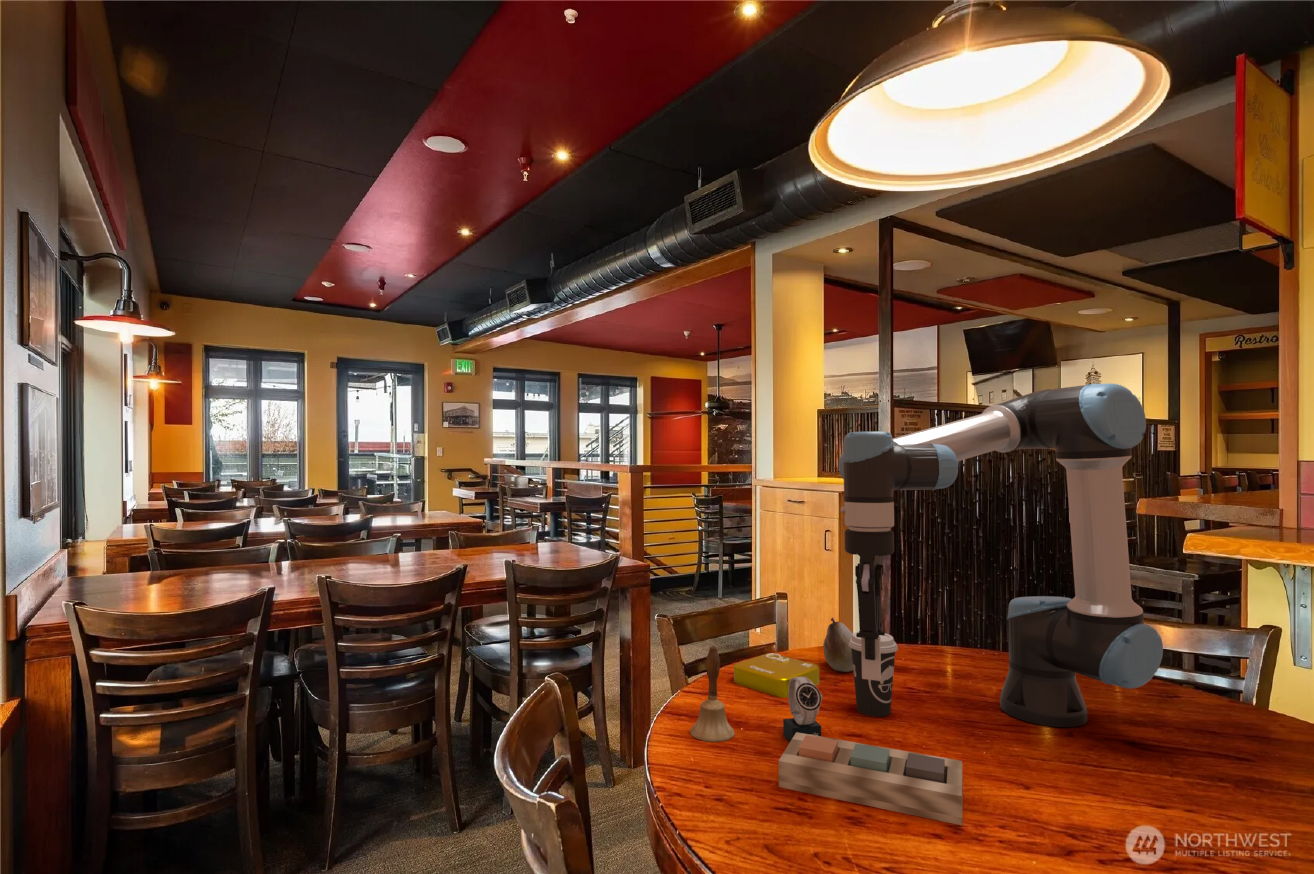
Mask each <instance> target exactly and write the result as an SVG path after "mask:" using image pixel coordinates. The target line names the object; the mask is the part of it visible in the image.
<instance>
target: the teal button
mask: <svg viewBox="0 0 1314 874" xmlns="http://www.w3.org/2000/svg"><path fill="white" fill-rule="evenodd" d="M851 766H854V767H860V768H865V769H870V770H876V771H881V772H886V773H889V769H890V750H889V749H883V748H878V747H872V746H866V745H860V744H855V746H854V749H853V752H852V754H851Z"/></svg>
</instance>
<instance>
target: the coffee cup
mask: <svg viewBox="0 0 1314 874" xmlns="http://www.w3.org/2000/svg"><path fill="white" fill-rule="evenodd" d="M857 632H858V633H859V631H857ZM857 632H853V635H852V638H851V639H850V641H849V647H851V652H852V662H853V671H852V672H853V679H854V681H853V682H854V683H853V684H854V691H855V702H856V711H858V713H860V714H862V715H865V716H868V717H874V718H875V717H876V718H883V717H888V716H889V715H890V714H891V712H892V711H891V710H892V699H893V698H892V697H893V685H894V673H895V672H894V670H895V661H896V658H895V657H896V652H897V651H898V650H899V648H898V645H897V642H896V641H895V639H894V637H893V635H891V634H888V633H885V636H882V635H879V637H880V651H881V679H880V681H876V680H868V679H862V648H861V638H859V637H857V636H856V634H857Z"/></svg>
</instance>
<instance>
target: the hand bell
mask: <svg viewBox="0 0 1314 874" xmlns="http://www.w3.org/2000/svg"><path fill="white" fill-rule="evenodd" d="M705 667H706V668H705V669H706V675H707V679H708V689H707V690H708V691H707V692H708V693H707V699H706V700H702V702H701V703H700V707H699V713H698V718H697V720H696V721H695V723H694V724H693V725H692V726H691V728H690V730H689V733H690V735H691V736H692V737H693V738H695V739H696V740H699V741H702V742H703V741H704V742H707V741H708V743H711V742H712V743H720V742H726V741H729V740H730V739H732V738H734V737H735V730H734V728H733V727H732V726H731V725H730V724H729V722H728V719H727V716H726V710H725V709H726V708H725V705H724V703H723V701H720V700H719V699H718V678H719V674H720V670H721V669H720V668H721V660H720V656H719V652H718V648H717V646H714V645H711V646H709V650H708V653H707V657H706V662H705Z"/></svg>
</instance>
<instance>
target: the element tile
mask: <svg viewBox="0 0 1314 874" xmlns="http://www.w3.org/2000/svg"><path fill="white" fill-rule="evenodd" d="M793 677H806V678H808V679H809V681H812V683H813V684H814V685H815V686H816V687H817V686H819V684H820V667H819V665H818V664H815V663H812V662H808V661H804V660H800V659H796V658H792V657H789V656H785V655H781V654H779V653H775V652H774V653H773V652H768V653H764V654H761V655H758V656H756V657H752V658H749V659H746V660H743V661H740V662H737V663H735V664H734V665H733V684H735V685H739V686H740V687H741V686H742V687H745V688H748V689H751V688H752V690H754V691H758V692H761V693H763V692H764V693H765V694H766V695H770V696H772V697H773V696H774V697H775V698H788V693H789V682H790V679H791V678H793Z"/></svg>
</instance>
